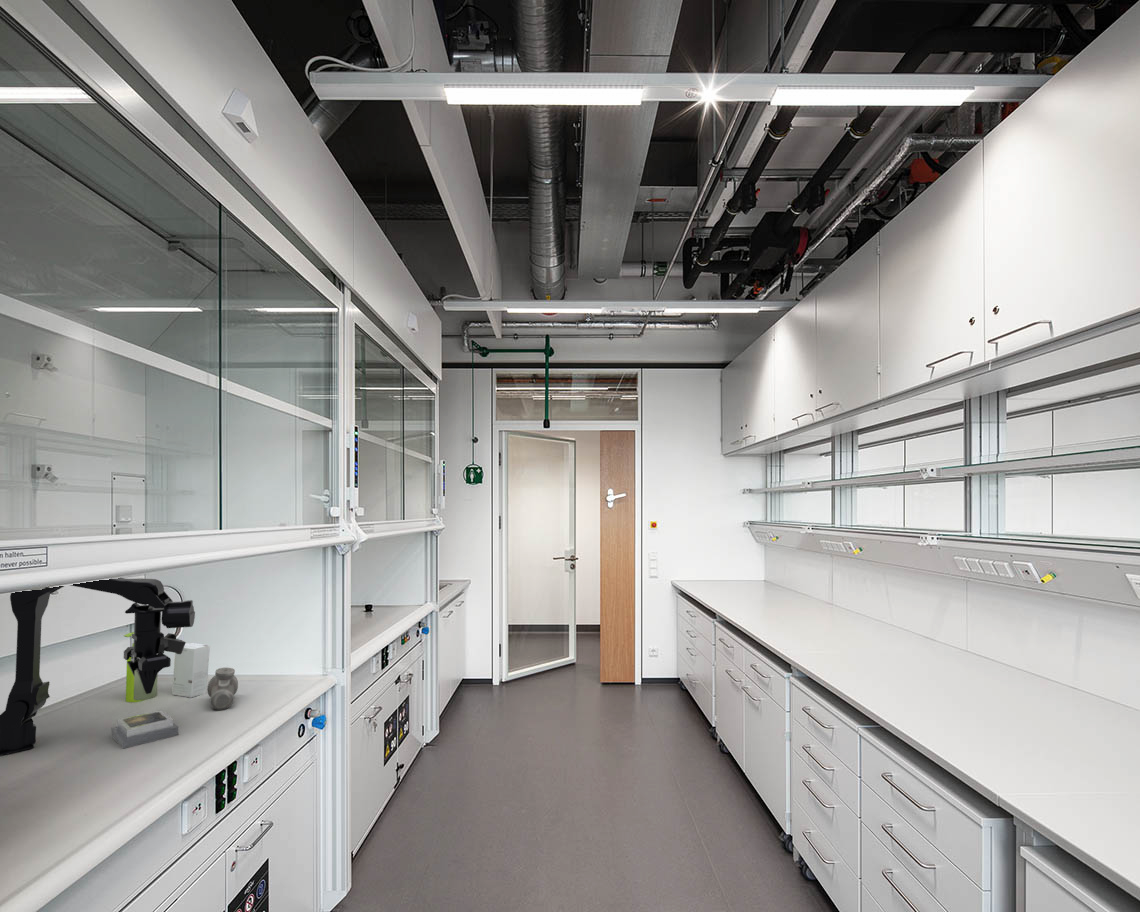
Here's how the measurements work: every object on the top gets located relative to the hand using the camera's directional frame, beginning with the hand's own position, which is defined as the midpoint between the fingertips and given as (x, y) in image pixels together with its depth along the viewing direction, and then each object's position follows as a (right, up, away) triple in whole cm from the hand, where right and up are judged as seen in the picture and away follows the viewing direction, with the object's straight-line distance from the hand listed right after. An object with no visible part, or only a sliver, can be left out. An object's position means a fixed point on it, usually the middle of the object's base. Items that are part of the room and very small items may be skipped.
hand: (145, 691), depth 167 cm
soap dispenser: (-21, -13, +28) cm, 37 cm away
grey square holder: (0, -11, -1) cm, 11 cm away
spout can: (0, -2, 0) cm, 2 cm away
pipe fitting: (+7, -13, +23) cm, 27 cm away
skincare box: (-8, -13, +33) cm, 37 cm away
